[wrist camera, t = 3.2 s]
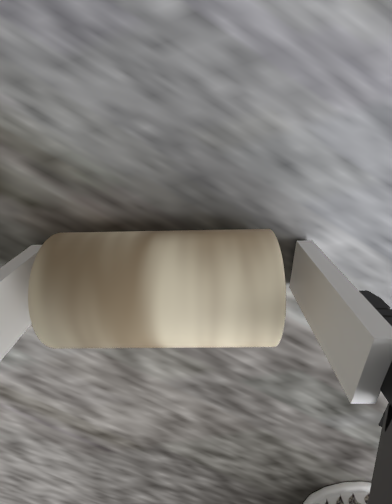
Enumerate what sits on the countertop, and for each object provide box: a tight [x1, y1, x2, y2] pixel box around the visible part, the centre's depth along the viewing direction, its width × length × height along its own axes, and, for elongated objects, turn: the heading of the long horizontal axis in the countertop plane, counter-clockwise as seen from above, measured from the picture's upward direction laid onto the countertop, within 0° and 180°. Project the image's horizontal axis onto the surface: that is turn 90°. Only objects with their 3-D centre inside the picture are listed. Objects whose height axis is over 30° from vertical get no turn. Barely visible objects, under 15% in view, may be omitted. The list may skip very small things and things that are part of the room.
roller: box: [28, 229, 286, 348], centre depth 12 cm, size 9×5×5 cm, turn 91°
